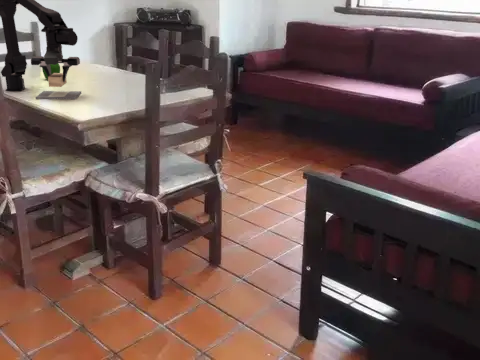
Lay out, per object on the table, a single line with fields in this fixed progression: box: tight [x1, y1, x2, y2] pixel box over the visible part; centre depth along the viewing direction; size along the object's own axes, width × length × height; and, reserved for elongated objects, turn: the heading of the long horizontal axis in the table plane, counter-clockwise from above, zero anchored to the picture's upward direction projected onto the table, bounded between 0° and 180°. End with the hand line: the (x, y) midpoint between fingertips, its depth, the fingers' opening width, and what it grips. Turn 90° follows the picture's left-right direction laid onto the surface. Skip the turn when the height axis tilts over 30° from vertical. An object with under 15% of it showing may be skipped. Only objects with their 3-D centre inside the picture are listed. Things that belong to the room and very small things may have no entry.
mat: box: [35, 90, 82, 100], centre depth 231 cm, size 16×12×1 cm
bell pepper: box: [41, 63, 61, 80], centre depth 262 cm, size 8×8×10 cm
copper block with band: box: [48, 72, 68, 88], centre depth 229 cm, size 9×5×4 cm, turn 3°
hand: (57, 81), depth 229 cm, fingers closed on copper block with band, 5 cm apart
